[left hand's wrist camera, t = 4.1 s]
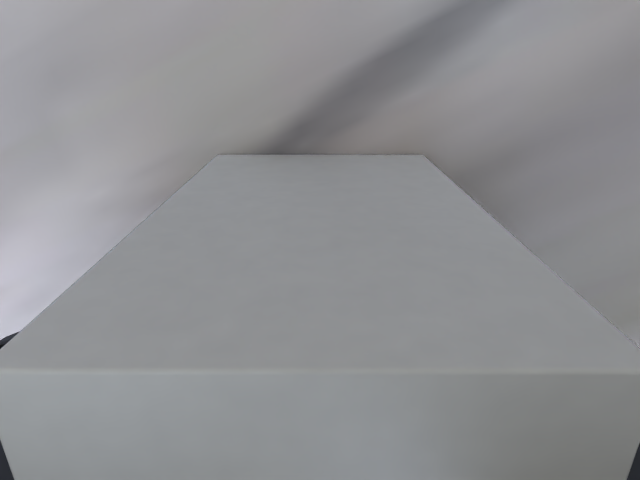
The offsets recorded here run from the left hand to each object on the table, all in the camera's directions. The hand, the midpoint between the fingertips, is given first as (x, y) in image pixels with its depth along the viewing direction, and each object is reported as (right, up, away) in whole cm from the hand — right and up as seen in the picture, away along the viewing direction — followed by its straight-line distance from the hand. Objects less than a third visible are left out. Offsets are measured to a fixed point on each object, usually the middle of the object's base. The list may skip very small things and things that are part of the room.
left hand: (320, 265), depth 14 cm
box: (0, -7, +4) cm, 8 cm away
